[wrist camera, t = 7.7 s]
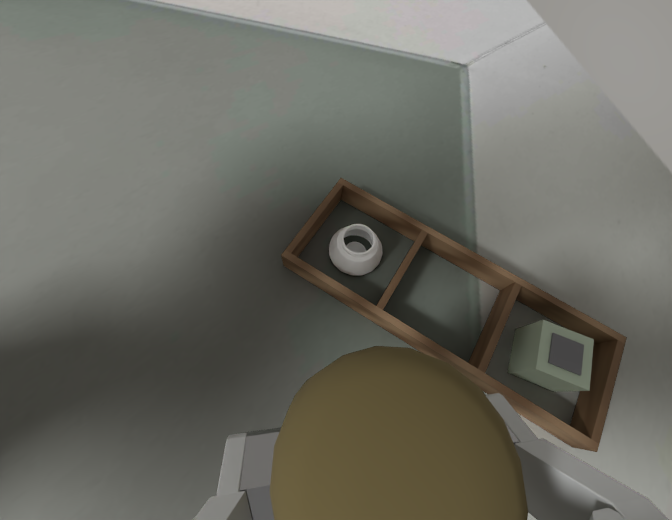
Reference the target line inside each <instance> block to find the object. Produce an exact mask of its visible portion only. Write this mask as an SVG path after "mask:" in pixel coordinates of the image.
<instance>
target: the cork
mask: <svg viewBox="0 0 672 520" xmlns="http://www.w3.org/2000/svg"><path fill="white" fill-rule="evenodd" d="M270 497H271V503H272V509H273V515H274V520H527V516H528V507H527V500H526V493H525V486H524V480H523V473H522V466H521V460H520V458H519V455H518V453H517V450H516V448H515V446H514V443H513V441H512V438H511V436H510V434H509V431H508V429H507V426H506V424H505V422H504V419H503V418H502V417H501V415H500V414H499V413H498V411H497V410H496V409H495V407H494V406H493V405H492V403H491V402H490V401H489V399H488V398H487V397H486V396H485V394H484V393H483V392H482V390H481V389H480V388H479V386H477V385H476V384H475V383H473V382H472V381H471V380H470V379H468V378H467V377H466V376H464V375H463V374H462V373H461V372H459V371H458V370H457V369H455V368H454V367H453V366H452V365H450V364H449V363H447V362H444V361H442V360H439V359H437V358H434V357H432V356H429V355H427V354H424V353H421V352H419V351H416V350H414V349H411V348H402V347H384V346H374V347H371V348H367V349H363V350H360V351H356V352H353V353H349V354H346V355H343V356H341V357H340V358H338V359H337V360H335V361H334V362H332V363H331V364H330V365H328V366H327V367H325V368H324V369H322V370H321V371H319V372H318V373H316V374H315V375H314V376H312V377H311V378H309V379H308V380H307V381H306V382H305V383H304V384H303V386H302V387H301V388H300V390H299V391H298V392H297V393H296V395H295V396H294V398H293V401H292V403H291V405H290V407H289V409H288V412H287V414H286V417H285V419H284V422H283V424H282V427H281V430H280V432H279V435H278V437H277V440H276V442H275V445H274V452H273V462H272V472H271V482H270Z"/></svg>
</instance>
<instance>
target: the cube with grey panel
mask: <svg viewBox="0 0 672 520" xmlns="http://www.w3.org/2000/svg"><path fill="white" fill-rule="evenodd" d="M593 344H594V339H592V338H589V337H587V336H584V335H581V334H579V333H576V332H574V331H571V330H569V329H566V328H563V327H561V326H558V325H556V324H553V323H551V322H548V321H546V320H541V321H538V322H535V323H532V324H529V325H526V326H523V327H520V328H517V329H515V334H514V339H513V345H512V350H511V356H510V361H509V367H508V372H507V373H510V374H512V375H514V376H517V377H519V378H522V379H524V380H527V381H529V382H532V383H534V384H536V385H539V386H541V387H544V388H546V389H549V390H551V391H553V392H558V391H590V380H591V368H592V356H593Z"/></svg>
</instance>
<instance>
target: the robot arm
mask: <svg viewBox="0 0 672 520" xmlns="http://www.w3.org/2000/svg"><path fill="white" fill-rule="evenodd" d="M485 396H486V397H487V398H488V399H489V401H490V402H491V403H492V405H493V406H494V407H495V409H496V410H497V411H498V413H499V414H500V415H501V417H502V418H503V419H504V422H505V424H506V426H507V429H508V431H509V434H510V436H511V438H512V441H513V443H514V446H515V448H516V450H517V453H518V455H519V458H520V460H521V466H522V473H523V480H524V486H525V493H526V500H527V507H528V512H529V513H530V514H531V515H532V516H534V517H535V518H536V519H537V520H669V519H668V518H667V517H666V516H665V515H664V514H663V513H662V512H661V511H660V510H659V509H658V508H657V507H656V506H655V505H654V504H653V503H652V502H651V501H650V500H649V499H648V498H647V497H645V496H643V495H642V494H640V493H638V492H636V491H635V490H633V489H631V488H629V487H628V486H626V485H624V484H622V483H621V482H619V481H617V480H615V479H614V478H612V477H610V476H608V475H607V474H605V473H603V472H601V471H599V470H598V469H596V468H594V467H592V466H591V465H589V464H587V463H585V462H584V461H582V460H580V459H578V458H577V457H575V456H573V455H571V454H570V453H568V452H566V451H564V450H563V449H561V448H559V447H557V446H556V445H554V444H552V443H550V442H549V441H547V440H545V439H538V438H537V437H536V436H535V434H534V433H533V432H532V431H531V430H530V428H529V427H528V426H527V425H526V423H525V422H524V421H523V420H522V419H521V417H520V416H519V415H518V414H517V412H516V411H515V410H514V409H513V407H512V406H511V405H510V404H509V403H508V401H507V400H506V399H505V398H504V396H503V395H501V394H500V393H495V394H489V395H485ZM280 430H281V428H275V429H267V430H259V431H251V432H245V433H238V434H230V435H229V436H228V438H227V440H226V445H225V450H224V456H223V461H222V467H221V472H220V478H219V483H218V489H217V494H216V496H212V497H210V498H209V499H208V501H207V502H206V503H205V505H204V506H203V507H202V509H201V510H200V511H199V513H198V514H197V515H196V517H195V518H194V519H193V520H274V515H273V509H272V503H271V497H270V482H271V472H272V462H273V452H274V445H275V442H276V440H277V437H278V435H279V432H280Z"/></svg>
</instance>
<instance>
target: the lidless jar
mask: <svg viewBox="0 0 672 520" xmlns="http://www.w3.org/2000/svg"><path fill="white" fill-rule="evenodd" d="M350 235H358V236H361V237H364V238H365V239H366V240H368V241H369V242H370V244H371V246H372V247H371V248H370V249H369V250H368V251H366V249H365V247H364V246H363V245H362V244H361V243H359V242H351V243H349V244H347V245H345V243H344V238H345V237H347V236H350ZM382 254H383V252H382V244H381V242H380V240H379V238H378V236H377V235H376V234H375V233H374V232H373V231H372V230H371V229H370V228H369V227H367V226H365V225H363V224H353V225H349V226H347V227H344V228H341V229H339V230H338V231H337V232H336V233H335V234H334V235H333V236H332V239H331V241H330V243H329V256H330V258H331V260H332V262H333V265H334V266H336V267H337V268H338V269H339V270H340V271H341V272H344V273H346V274H349V275H364V274H367V273H369V272H372V271H373V270H374V269H375V268H376V267H377V266H378V265H379V263H380V260H381V257H382Z"/></svg>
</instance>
